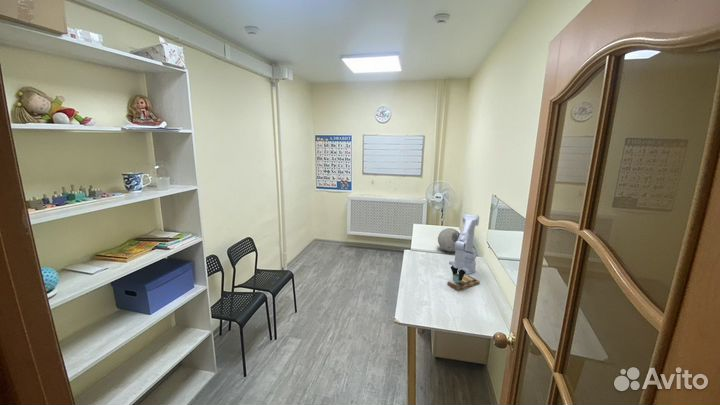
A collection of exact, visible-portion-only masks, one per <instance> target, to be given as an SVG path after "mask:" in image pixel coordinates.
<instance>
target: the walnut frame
mask: <svg viewBox="0 0 720 405" xmlns="http://www.w3.org/2000/svg"><path fill="white" fill-rule="evenodd" d="M467 276H468V277H470V278H472V279H474V281H473V282H472V283H469V284H464V283H463V282H459V283H456V282H455V281H454V283H455V284H454V283H453V282H451V281H448V282H447V286H449V287H450V288H452V289H453V290H456V291H457V292H461V291H463V290H467V289H469V288H472V287H476V286H478V285H480V283H481V282H480V280H479V279H477V278H474V277H472V276H470V275H467ZM458 285H459V286H458Z"/></svg>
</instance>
